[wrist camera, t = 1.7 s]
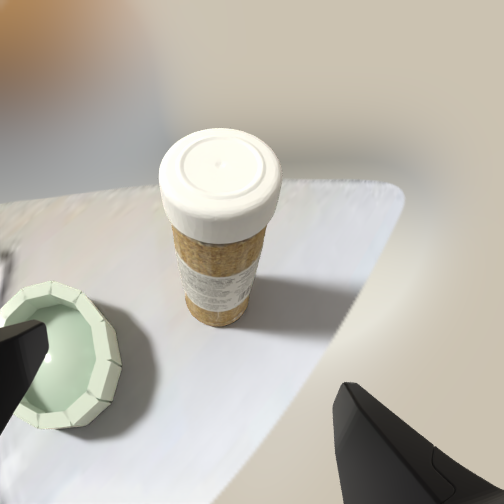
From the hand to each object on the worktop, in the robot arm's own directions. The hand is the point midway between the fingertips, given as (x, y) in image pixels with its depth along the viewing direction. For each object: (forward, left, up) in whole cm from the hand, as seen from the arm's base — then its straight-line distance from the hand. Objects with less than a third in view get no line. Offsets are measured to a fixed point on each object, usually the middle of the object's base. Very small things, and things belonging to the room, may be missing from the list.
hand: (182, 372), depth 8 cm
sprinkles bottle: (+7, +1, -13) cm, 15 cm away
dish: (-1, +11, -13) cm, 17 cm away
